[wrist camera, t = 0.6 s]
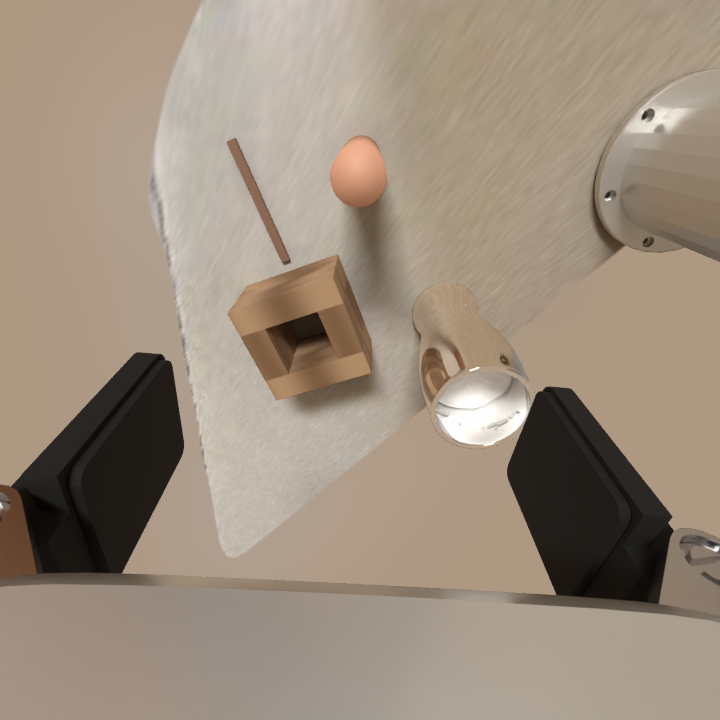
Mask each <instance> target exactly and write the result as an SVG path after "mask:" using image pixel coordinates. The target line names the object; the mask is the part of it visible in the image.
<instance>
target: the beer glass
mask: <svg viewBox="0 0 720 720" xmlns="http://www.w3.org/2000/svg"><path fill="white" fill-rule="evenodd" d="M413 322H414V325H415V327H416V329H417V331H418V332H419V334H420V335H421V344H420V353H419V375H420V382H421V387H422V391H423V395H424V398H425V401H426V404H427V407H428V410H429V413H430V415H431V420H432V424H433V426H434V428H435V430H436V431H437V432H438V434H439V435H440V436H441V437H442V438H444V439H445V440H446V441H448V442H449V443H451V444H454V445H456V446H459V447H463V448H469V449H482V448H483V449H484V448H490V447H494V446H498V445H500V444H503V443H505V442H507V441H509V440H511V439H513V438H514V437H515V436H517V435H518V434H519V433H521V431H522V429H523V426H524V424H525V421H526V419H527V416H528V413H529V411H530V408H531V406H532V403H533V401H534V398H535V392H534V389H533V387H532V386H531V384H530V382H529V380H528V378H527V375H526V373H525V371H524V369H523V366H522V364H521V362H520V360H519V358H518V356H517V355H516V353H515V351H514V350H513V348H512V347H511V345H510V344H509V342H508V341H507V339H506V338H505V337H504V336H503V335H502V334H501V333H500V332H499V331H498V330H497V329H496V328H495V327H494V326H493V325H492V324H490V323H489V322H488V321H487V320H486V319H484V318H483V317H482V316H481V315H480V314H479V309H478V304H477V300H476V298H475V296H474V295H473V293H472V292H471V291H470V290H469V289H468V288H466V287H465V286H463V285H461V284H458V283H453V282H443V283H438V284H435V285H433V286H431V287H429V288H427V289H426V290H425V291H424V292H422V293H421V295H420V296H419V297H418V299H417V300H416V302H415V305H414V308H413Z"/></svg>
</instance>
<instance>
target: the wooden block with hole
mask: <svg viewBox="0 0 720 720" xmlns="http://www.w3.org/2000/svg"><path fill="white" fill-rule="evenodd" d="M315 312H318V315H319V317H320V319H321V321H322V324H323V326H324V328H325V330H326V333H323V334H320V335H317V336H314V337H311V338H307V339H304V340H301V341H298V339H297V337H296V335H295V333H294V331H293V329H292V327H291V325H290V323H289V321H291V320H294V319H297V318H300V317H303V316H306V315H309V314H312V313H315ZM228 316H229V317H230V319H231V321H232V323H233V324H234V326H235V328H236V330H237V332H238V333H239V335H240V337H241V339H242V340H243V342H244V344H245V346H246V347H247V349H248V351H249V353H250V354H251V356H252V358H253V360H254V361H255V363H256V365H257V367H258V369H259V370H260V372H261V374H262V376H263V377H264V379H265V381H266V383H267V384H268V386H269V388H270V390H271V391H272V393H273V395H274V397H275V398H276V400H280V399H283V398H287V397H290V396H294V395H297V394H301V393H304V392H307V391H311V390H314V389H318V388H321V387H325V386H328V385H331V384H335V383H338V382H342V381H345V380H349V379H352V378H356V377H359V376H362V375H366V374H369V373H372V368H371V338H370V336H369V333H368V331H367V328H366V325H365V323H364V320H363V318H362V315H361V313H360V310H359V307H358V305H357V302H356V300H355V297H354V295H353V292H352V289H351V287H350V284H349V282H348V279H347V276H346V274H345V271H344V269H343V266H342V264H341V261H340V258H339V256H338V254H337V255H334V256H332V257H329V258H326V259H323V260H320V261H317V262H315V263H312V264H309V265H306V266H303V267H300V268H298V269H295V270H292V271H289V272H286V273H283V274H281V275H278V276H275V277H272V278H269V279H266V280H264V281H261V282H258V283H255V284H252V285H249V286H247V287H246V288H245V289H244V291H243V292H242V294H241V295H240V297H239V298H238V299H237V301H236V302H235V304H234V305H233V306H232V308H231V309H230V311H229V312H228Z"/></svg>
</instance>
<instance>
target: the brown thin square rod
mask: <svg viewBox="0 0 720 720" xmlns="http://www.w3.org/2000/svg"><path fill="white" fill-rule="evenodd" d="M227 144H228V146H229V148H230V151H231V153H232V155H233V157H234V159H235V161H236V164H237V166H238V168H239V170H240V172H241V174H242V177H243V179H244V181H245V183H246V185H247V187H248V190H249V192H250V194H251V196H252V198H253V200H254V203H255V205H256V207H257V209H258V211H259V213H260V216H261V218H262V220H263V222H264V224H265V226H266V229H267V231H268V233H269V235H270V237H271V239H272V242H273V244H274V246H275V248H276V250H277V252H278V255H279V257H280V259H281V261H282V263H283V262H286V261H289V260H290V258H289V256H288V253H287V251H286V249H285V247H284V244H283V242H282V240H281V238H280V236H279V233H278V231H277V229H276V227H275V225H274V222H273V220H272V218H271V216H270V213H269V211H268V209H267V207H266V205H265V202H264V200H263V198H262V196H261V193H260V191H259V189H258V187H257V185H256V182H255V180H254V178H253V176H252V173H251V171H250V169H249V167H248V165H247V162H246V160H245V158H244V156H243V153H242V151H241V149H240V147H239V145H238V142H237V140H236V138H234V139H232V140H230V141H227Z"/></svg>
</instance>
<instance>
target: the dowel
mask: <svg viewBox="0 0 720 720" xmlns="http://www.w3.org/2000/svg"><path fill="white" fill-rule="evenodd" d="M330 181H331V186H332V189H333V191H334V193H335V194H336V196H337V197H338V198H339V199H340V200H341V201H342V202H343V203H345V204H347V205H349V206H352V207H365V206H368V205H371V204H372V203H374V202H375V201H376V200H377V199H378V198H379V197H380V196H381V195H382V193H383V191H384V189H385V186H386V181H387V173H386V168H385V165H384V162H383V159H382V156H381V153H380V150H379V147H378V145H377V144H376V143H375V141H374V140H372V139H371V138H369V137H367V136H356V137H354V138H352V139H351V140H349V141H348V142H347V144H346V145H345V146H344V148H343V149H342V150H341V152H340V153H339V155H338V156H337V157H336V159H335V160H334V162H333V164H332V168H331V172H330Z"/></svg>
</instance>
